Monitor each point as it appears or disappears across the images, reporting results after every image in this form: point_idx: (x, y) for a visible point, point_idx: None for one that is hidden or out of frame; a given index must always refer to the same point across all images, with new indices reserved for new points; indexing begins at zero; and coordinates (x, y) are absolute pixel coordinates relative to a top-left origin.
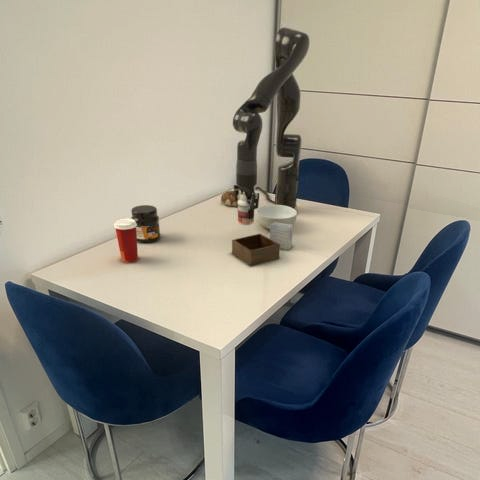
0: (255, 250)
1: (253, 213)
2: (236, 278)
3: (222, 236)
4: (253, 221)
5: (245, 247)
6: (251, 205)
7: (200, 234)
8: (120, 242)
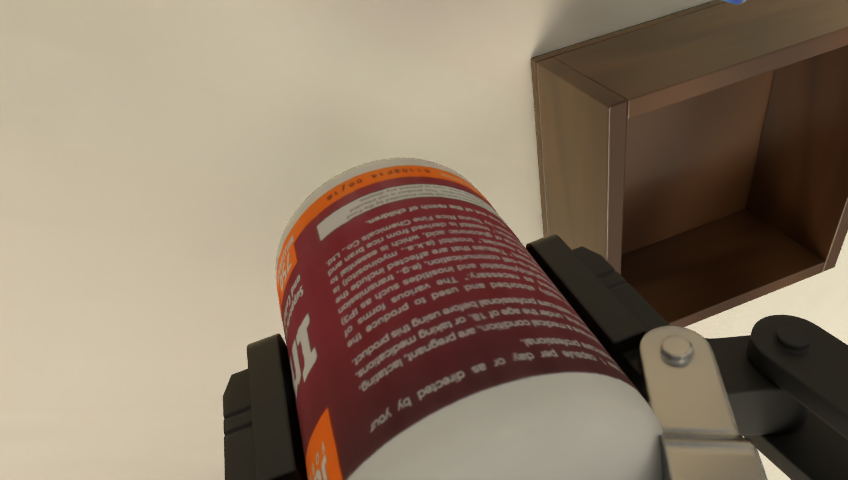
0: (844, 237)
1: (634, 296)
2: (790, 294)
3: (187, 317)
4: (465, 181)
5: (764, 290)
6: (790, 461)
7: (117, 454)
8: None
